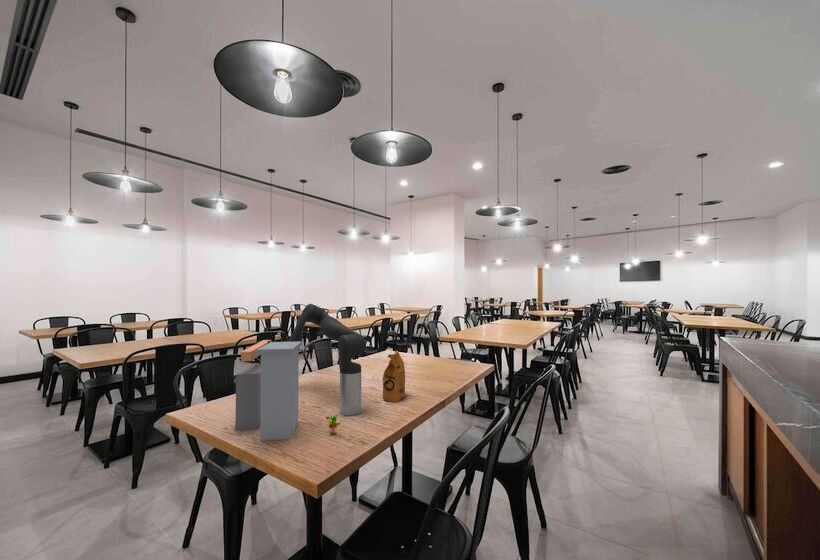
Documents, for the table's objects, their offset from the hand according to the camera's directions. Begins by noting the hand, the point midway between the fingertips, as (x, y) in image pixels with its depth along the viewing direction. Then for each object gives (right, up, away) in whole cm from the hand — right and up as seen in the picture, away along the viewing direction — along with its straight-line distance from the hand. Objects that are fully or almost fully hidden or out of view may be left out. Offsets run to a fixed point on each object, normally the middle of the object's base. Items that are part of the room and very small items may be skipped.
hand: (263, 342), depth 143 cm
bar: (+1, -3, -7) cm, 8 cm away
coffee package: (+57, -30, +15) cm, 66 cm away
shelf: (+1, -29, -11) cm, 31 cm away
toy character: (+35, -29, -24) cm, 52 cm away
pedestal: (+16, -29, -21) cm, 39 cm away
